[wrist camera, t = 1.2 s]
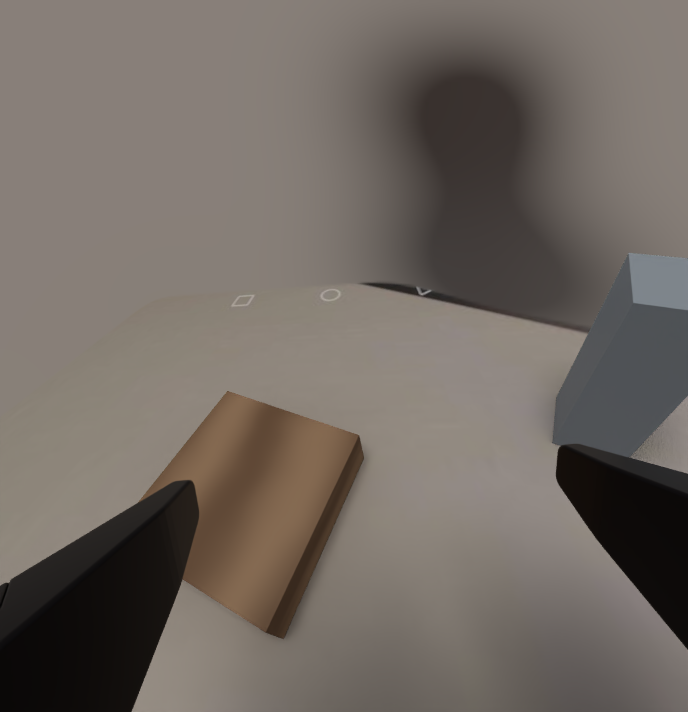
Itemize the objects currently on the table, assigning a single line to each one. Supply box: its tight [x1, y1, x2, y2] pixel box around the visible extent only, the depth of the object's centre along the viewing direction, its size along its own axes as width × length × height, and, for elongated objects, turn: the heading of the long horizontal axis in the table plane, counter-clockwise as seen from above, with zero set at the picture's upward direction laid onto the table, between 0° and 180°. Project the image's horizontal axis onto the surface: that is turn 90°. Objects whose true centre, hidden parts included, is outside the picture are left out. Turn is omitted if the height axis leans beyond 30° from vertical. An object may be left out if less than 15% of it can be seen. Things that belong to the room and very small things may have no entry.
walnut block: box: [138, 391, 364, 639], centre depth 23 cm, size 11×11×4 cm
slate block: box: [552, 253, 688, 457], centre depth 20 cm, size 4×4×12 cm
